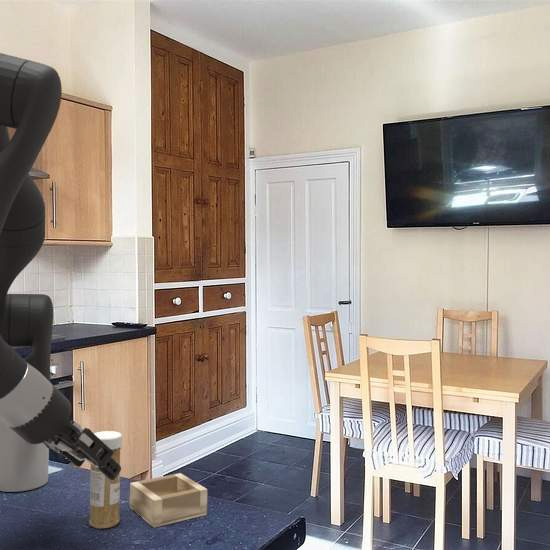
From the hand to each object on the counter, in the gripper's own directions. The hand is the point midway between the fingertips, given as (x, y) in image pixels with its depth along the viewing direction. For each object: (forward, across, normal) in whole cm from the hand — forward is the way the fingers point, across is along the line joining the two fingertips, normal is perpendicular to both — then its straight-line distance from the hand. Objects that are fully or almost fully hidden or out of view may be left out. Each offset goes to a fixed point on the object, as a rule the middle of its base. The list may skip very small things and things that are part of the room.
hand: (98, 467), depth 92 cm
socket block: (+14, -3, -1) cm, 14 cm away
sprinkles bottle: (+7, 0, +5) cm, 9 cm away
